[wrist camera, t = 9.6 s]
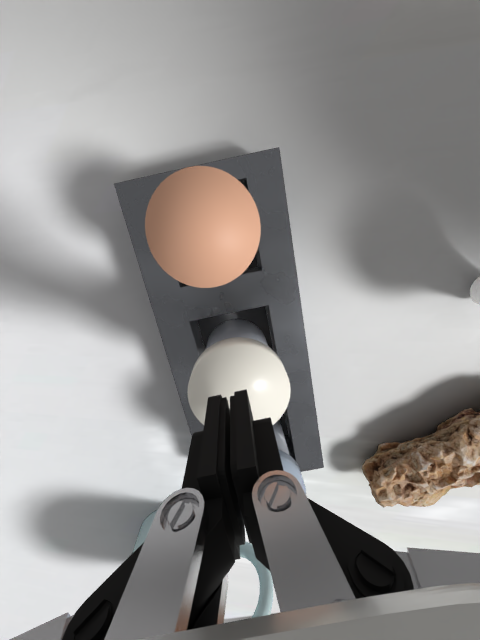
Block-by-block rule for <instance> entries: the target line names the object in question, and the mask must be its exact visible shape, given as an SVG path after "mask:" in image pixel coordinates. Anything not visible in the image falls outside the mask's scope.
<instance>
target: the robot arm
mask: <svg viewBox="0 0 480 640" xmlns="http://www.w3.org/2000/svg"><path fill="white" fill-rule="evenodd" d="M244 524H245V527H244ZM245 528H246V531H247V535H248V539H249V542H250V543H252V546H253V549H254V553H255V557H256V559H257V560H258V561H259V562H261V563H262V564H263V565H264V566H265V567H266V568H267V569H268V570H269V571H270V572H271V576H272V580H273V584H274V588H275V592H276V596H277V600H278V604H279V608H280V612H281V613H276V614H271V615H265V616H260V617H255V618H249V619H244V620H239V621H234V622H228V623H224V615H225V606H226V598H227V589H228V575H227V573H228V572H229V570H230V569H231V567H232V566H233V564H234V563H235V560H236V559H240V545H245ZM10 640H480V553H469V552H456V551H444V550H431V549H419V548H407V552H397V551H394V550H393V549H391V548H390V547H389V546H387V545H386V544H385V543H383V542H381V541H380V540H378V539H376V538H374V537H373V536H371V535H369V534H368V533H366V532H364V531H363V530H361V529H359V528H357V527H356V526H354V525H352V524H351V523H349V522H347V521H346V520H344V519H342V518H340V517H339V516H337V515H335V514H334V513H332V512H330V511H329V510H327V509H325V508H323V507H322V506H320V505H318V504H317V503H315V502H313V501H312V500H310V499H308V498H307V497H306V495H305V492H304V490H303V488H302V486H301V484H300V483H299V481H298V480H297V478H296V477H294V476H293V475H292V474H291V473H288V472H285V471H284V470H283V466H282V462H281V458H280V454H279V450H278V446H277V441H276V437H275V433H274V429H273V425H272V421H271V417H269V418H264V419H259V420H253V415H252V411H251V406H250V402H249V397H248V393H247V389H246V390H241V391H236V392H234V396H230V408H229V404H228V400H227V397H224V398H222V396H221V395H216V396H211V397H208V401H207V408H206V415H205V422H204V429H203V431H199V432H194V433H193V435H192V440H191V445H190V450H189V455H188V460H187V465H186V470H185V475H184V480H183V485H182V489H180V490H178V491H175V492H173V493H172V494H171V495H169V496H168V497H167V498H166V499H165V500H164V501H163V502H162V504H161V505H160V507H159V509H158V510H157V512H156V515H155V517H154V520H153V522H152V524H151V527H150V529H149V532H148V534H147V537H146V539H145V541H144V542H143V543H142V544H141V546H140V547H139V548H138V549H137V550H136V551H135V552H134V553H133V554H132V555H131V556H130V557H129V558H128V559H127V560H126V561H125V562H124V563H123V564H122V565H121V566H120V567H119V568H118V569H117V570H116V571H115V572H114V573H113V574H112V575H111V576H110V577H109V578H108V579H107V580H106V581H105V582H104V583H103V584H102V585H101V586H100V587H99V588H98V589H97V590H96V591H95V592H94V593H93V594H92V595H91V596H90V597H89V598H88V599H87V600H86V601H85V602H84V603H83V604H82V605H81V607H80V608H79V609H78V610H77V611H76V613H75V615H73V616H70V615H69V613H65V614H63V615H61V616H59V617H57V618H55V619H53V620H51V621H48V622H46V623H44V624H42V625H40V626H38V627H36V628H34V629H31V630H29V631H27V632H25V633H23V634H21V635H19V636H17V637H14V638H12V639H10Z"/></svg>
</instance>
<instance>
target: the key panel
mask: <svg viewBox="0 0 480 640" xmlns="http://www.w3.org/2000/svg"><path fill="white" fill-rule="evenodd" d="M197 166H208V167H214V168H217V169H220V170H223V171H225V172H227V173H229V174H230V175H232V176H233V177H235V178H236V179H237V180H238V181H240V182H241V183H242V184H243V185H244V187H245V188H246V189H247V190H248V192H249V193H250V194H251V196H252V198H253V200H254V202H255V204H256V207H257V209H258V213H259V217H260V225H261V235H260V242H259V246H258V249H257V252H256V258H257V264H258V267H256V268H251V269H246V270H245V271H244V272H243V273H242V274H241V275H240V276H238V277H237V278H236V279H234V280H233V281H231V282H229V283H227V284H224V285H221V286H218V287H212V288H199V287H193V286H189V285H186V284H184V283H181V282H179V281H177V280H176V279H174V278H173V277H171V276H170V275H168V274H167V273H166V272H165V271H164V270H163V269H162V268H161V267H160V265H159V264H158V263H157V261H156V260H155V258H154V257H153V255H152V253H151V251H150V248H149V245H148V242H147V238H146V232H145V217H146V210H147V207H148V204H149V201H150V199H151V197H152V195H153V193H154V191H155V190H156V188H157V187H158V186H159V185H160V184H161V182H162V181H164V180H165V179H166V178H167V177H168V176H170V175H171V174H173V173H174V172H177V171H179V170H181V169H179V170H174V171H170V172H165V173H160V174H156V175H151V176H147V177H142V178H138V179H133V180H129V181H124V182H120V183H115V184H114V185H115V188H116V192H117V195H118V198H119V201H120V205H121V208H122V211H123V214H124V218H125V221H126V224H127V227H128V230H129V234H130V237H131V240H132V243H133V247H134V250H135V253H136V256H137V260H138V263H139V266H140V269H141V273H142V276H143V279H144V282H145V286H146V289H147V292H148V295H149V299H150V302H151V305H152V308H153V312H154V315H155V318H156V321H157V325H158V328H159V331H160V334H161V338H162V341H163V344H164V347H165V351H166V354H167V357H168V360H169V364H170V367H171V370H172V373H173V377H174V380H175V383H176V386H177V390H178V393H179V396H180V399H181V403H182V406H183V409H184V412H185V416H186V419H187V422H188V425H189V428H190V432H191V435H193V433H194V432H199V431H203V429H204V425H203V424H202V423H201V422H200V421H199V420H198V419H197V418H196V416H195V415H194V413H193V412H192V410H191V407H190V405H189V401H188V384H189V380H190V376H191V373H192V370H193V367H194V365H195V363H196V361H197V359H198V358H199V356H200V355H201V354H202V353H203V352H204V351H205V346H204V343H203V339H202V335H201V331H200V327H199V323H198V320H199V319H203V318H208V317H213V316H218V315H223V314H228V313H233V312H238V311H242V310H247V309H252V308H257V307H262V306H265V308H266V314H267V319H268V325H269V330H270V336H271V342H272V347H273V351H274V352H275V353H276V354H277V355H278V357H279V358H280V360H281V362H282V364H283V366H284V368H285V371H286V373H287V375H288V378H289V382H290V389H291V391H290V399H289V403H288V406H287V408H286V410H285V412H284V414H285V419H286V425H287V430H288V436H284V437H285V440H286V444H287V448H288V451H289V455H290V456H291V457H292V458H293V459H294V460H295V461H296V463H297V464H298V466H299V468H300V472H302V471H308V470H313V469H318V468H324V466H323V458H322V451H321V444H320V437H319V430H318V423H317V415H316V408H315V401H314V394H313V387H312V379H311V372H310V365H309V358H308V351H307V344H306V336H305V329H304V322H303V315H302V308H301V301H300V293H299V286H298V279H297V272H296V265H295V257H294V250H293V243H292V236H291V229H290V222H289V214H288V207H287V200H286V193H285V186H284V178H283V171H282V164H281V157H280V150H279V147H278V148H274V149H269V150H265V151H260V152H256V153H251V154H246V155H242V156H237V157H233V158H228V159H224V160H219V161H215V162H210V163H206V164H201V165H197ZM192 167H193V166H192ZM183 169H184V168H183Z"/></svg>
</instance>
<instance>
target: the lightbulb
mask: <svg viewBox="0 0 480 640" xmlns="http://www.w3.org/2000/svg"><path fill="white" fill-rule="evenodd" d="M470 296H471V298H472V300H473V301H474V302H475V303H477V304H480V277H478V278H477V279H476V280H475V281H474V282H473V284H472V286H471V288H470Z"/></svg>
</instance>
